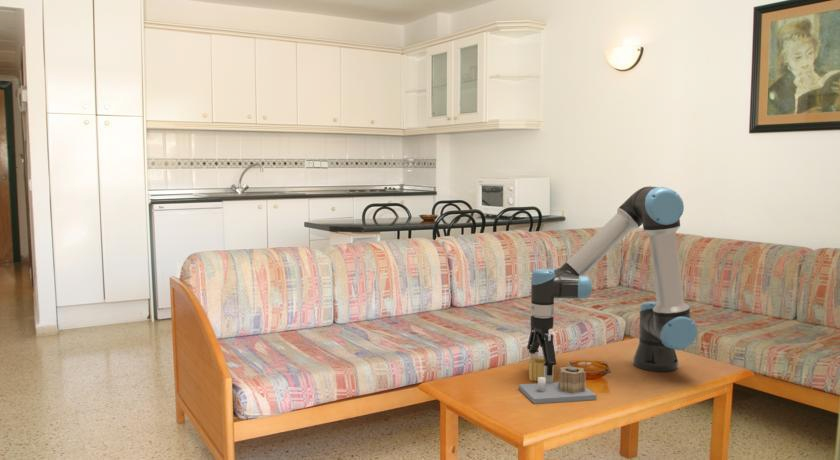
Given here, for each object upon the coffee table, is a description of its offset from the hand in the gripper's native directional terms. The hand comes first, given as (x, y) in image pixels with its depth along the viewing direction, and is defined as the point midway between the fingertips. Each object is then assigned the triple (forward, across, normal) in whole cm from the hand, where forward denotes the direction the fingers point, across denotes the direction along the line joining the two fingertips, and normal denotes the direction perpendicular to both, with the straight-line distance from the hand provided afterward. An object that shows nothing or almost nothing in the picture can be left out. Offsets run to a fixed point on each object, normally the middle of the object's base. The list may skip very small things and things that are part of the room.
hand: (540, 378), depth 230 cm
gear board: (0, +16, -1) cm, 16 cm away
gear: (-1, +16, +4) cm, 17 cm away
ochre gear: (0, 0, 0) cm, 0 cm away
